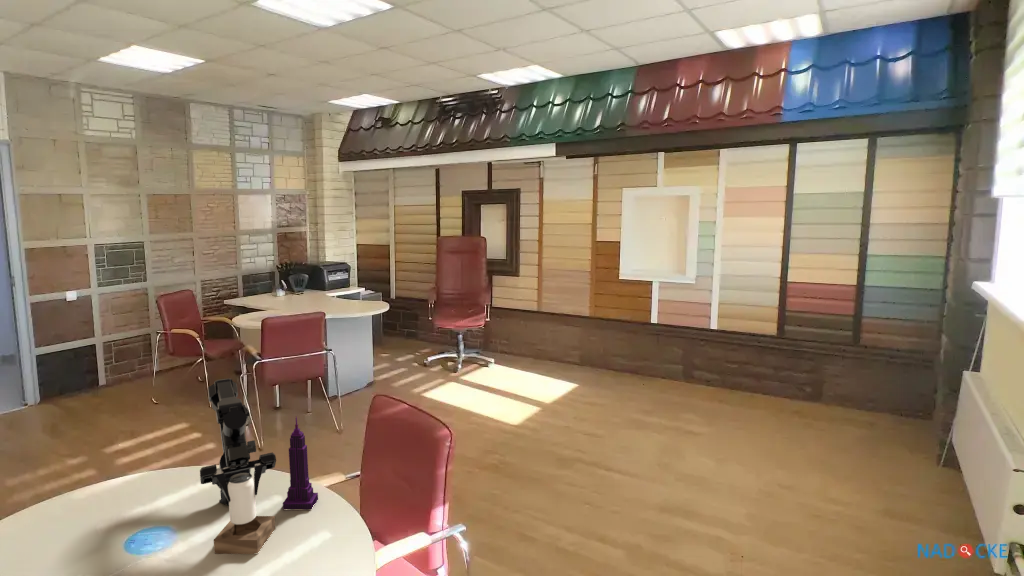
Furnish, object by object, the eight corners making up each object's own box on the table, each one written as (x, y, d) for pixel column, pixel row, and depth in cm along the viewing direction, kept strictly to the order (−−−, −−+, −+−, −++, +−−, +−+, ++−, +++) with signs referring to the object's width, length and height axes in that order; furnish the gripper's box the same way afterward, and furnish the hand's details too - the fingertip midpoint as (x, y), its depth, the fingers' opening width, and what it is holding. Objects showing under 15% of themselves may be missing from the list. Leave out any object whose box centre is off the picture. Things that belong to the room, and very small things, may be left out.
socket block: (235, 528, 161) (234, 515, 161) (275, 529, 161) (274, 516, 161) (214, 553, 150) (213, 539, 149) (257, 553, 150) (256, 540, 149)
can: (258, 521, 154) (255, 479, 152) (231, 528, 150) (228, 486, 148) (254, 509, 159) (251, 469, 157) (228, 516, 156) (225, 475, 154)
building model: (318, 499, 177) (314, 407, 173) (311, 510, 171) (306, 415, 166) (291, 498, 178) (285, 407, 173) (282, 510, 171) (277, 415, 167)
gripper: (197, 439, 149) (203, 497, 142) (273, 425, 159) (282, 478, 152) (197, 455, 157) (203, 511, 150) (269, 441, 167) (278, 492, 159)
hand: (243, 498), depth 152 cm, fingers closed on can, 6 cm apart
